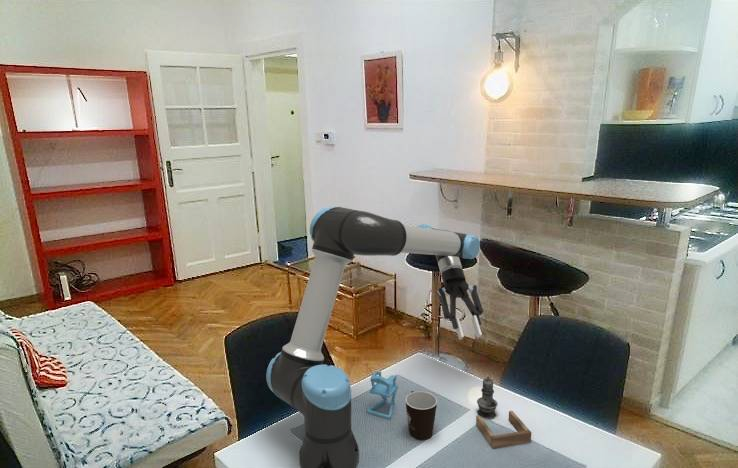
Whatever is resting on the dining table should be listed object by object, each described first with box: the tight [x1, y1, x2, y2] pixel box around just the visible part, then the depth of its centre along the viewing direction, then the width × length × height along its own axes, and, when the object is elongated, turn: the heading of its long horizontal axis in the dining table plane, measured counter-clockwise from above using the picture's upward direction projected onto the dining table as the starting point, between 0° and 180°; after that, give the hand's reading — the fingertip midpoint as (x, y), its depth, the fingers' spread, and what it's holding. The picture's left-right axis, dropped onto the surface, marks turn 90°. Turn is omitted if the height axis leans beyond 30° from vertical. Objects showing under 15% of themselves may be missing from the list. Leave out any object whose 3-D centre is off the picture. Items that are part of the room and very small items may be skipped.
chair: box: [366, 370, 399, 421], centre depth 134 cm, size 8×8×12 cm
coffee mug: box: [404, 390, 438, 441], centre depth 125 cm, size 12×9×10 cm
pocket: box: [475, 410, 532, 450], centre depth 123 cm, size 10×11×3 cm
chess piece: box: [476, 376, 499, 420], centre depth 131 cm, size 6×6×12 cm
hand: (470, 337), depth 141 cm, fingers open, 5 cm apart
